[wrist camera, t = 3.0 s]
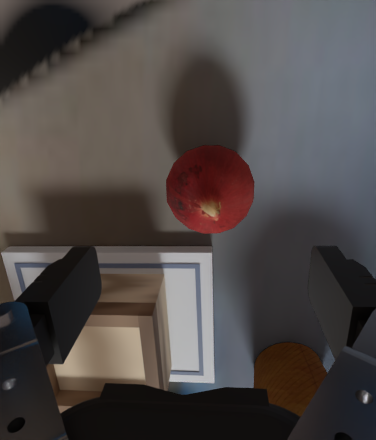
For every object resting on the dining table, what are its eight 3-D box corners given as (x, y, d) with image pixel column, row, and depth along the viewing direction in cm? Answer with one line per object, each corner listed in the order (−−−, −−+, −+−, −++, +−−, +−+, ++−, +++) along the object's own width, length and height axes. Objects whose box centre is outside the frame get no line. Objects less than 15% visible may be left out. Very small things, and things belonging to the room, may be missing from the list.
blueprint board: (212, 246, 28) (211, 253, 26) (214, 373, 33) (214, 384, 32) (9, 246, 29) (0, 253, 28) (41, 366, 34) (35, 377, 33)
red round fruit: (175, 210, 27) (158, 257, 19) (171, 138, 25) (151, 160, 17) (247, 211, 26) (259, 259, 19) (250, 137, 24) (265, 158, 17)
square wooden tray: (164, 274, 28) (151, 316, 23) (171, 365, 31) (162, 419, 26) (50, 273, 29) (13, 313, 24) (70, 362, 32) (42, 413, 27)
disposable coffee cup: (286, 417, 34) (319, 575, 23) (217, 367, 33) (216, 513, 21) (361, 367, 31) (440, 523, 20) (288, 309, 29) (331, 444, 18)
